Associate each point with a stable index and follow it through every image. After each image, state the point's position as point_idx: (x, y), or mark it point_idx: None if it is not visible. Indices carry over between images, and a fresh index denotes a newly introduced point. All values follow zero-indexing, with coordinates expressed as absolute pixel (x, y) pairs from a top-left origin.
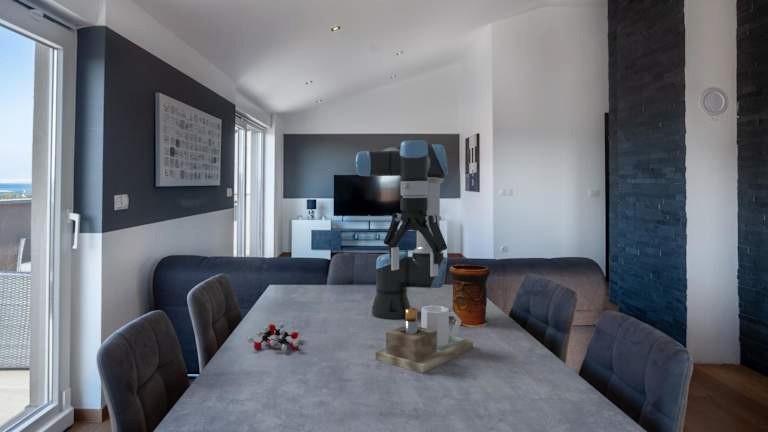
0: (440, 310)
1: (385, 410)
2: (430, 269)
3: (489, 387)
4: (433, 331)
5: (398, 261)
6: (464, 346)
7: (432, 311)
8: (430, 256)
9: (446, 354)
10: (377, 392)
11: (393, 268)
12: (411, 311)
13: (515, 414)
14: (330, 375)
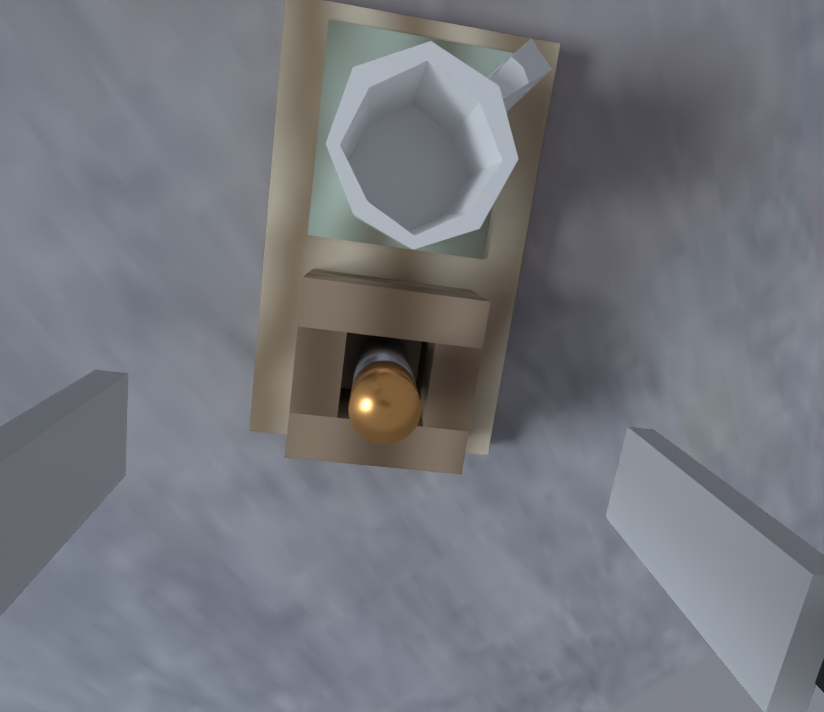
0: (423, 67)
1: (505, 699)
2: (639, 555)
3: (715, 422)
4: (481, 321)
5: (83, 414)
6: (543, 133)
7: (374, 94)
8: (728, 665)
9: (516, 290)
10: (428, 633)
11: (116, 482)
12: (403, 437)
13: (811, 540)
14: (220, 621)
